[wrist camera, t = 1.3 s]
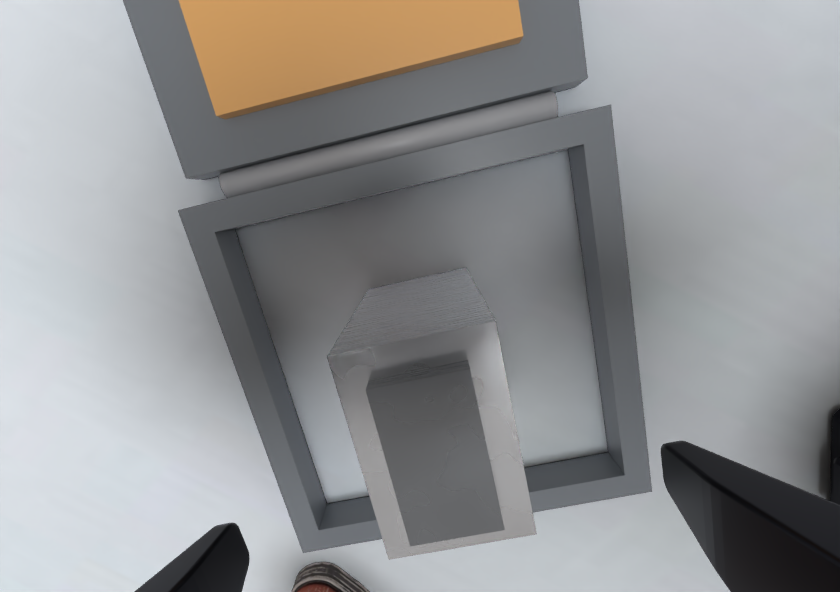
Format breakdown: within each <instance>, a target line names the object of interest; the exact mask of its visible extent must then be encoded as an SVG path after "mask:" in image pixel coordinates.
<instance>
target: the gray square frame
mask: <svg viewBox="0 0 840 592" xmlns="http://www.w3.org/2000/svg"><path fill="white" fill-rule="evenodd" d="M567 149H568V151H569V159H570V166H571V174H572V181H573V189H574V196H575V204H576V211H577V219H578V226H579V234H580V241H581V249H582V256H583V264H584V271H585V279H586V286H587V294H588V301H589V309H590V316H591V324H592V331H593V339H594V346H595V354H596V361H597V369H598V376H599V384H600V392H601V399H602V407H603V414H604V422H605V429H606V437H607V444H608V453H603V454H597V455H592V456H586V457H581V458H575V459H570V460H565V461H559V462H554V463H548V464H543V465H537V466H532V467H527V468H524V471H525V476H526V481H527V486H528V491H529V497H530V502H531V507H532V512H538V511H544V510H550V509H555V508H561V507H567V506H572V505H578V504H584V503H589V502H595V501H601V500H606V499H612V498H618V497H624V496H629V495H635V494H641V493H646V492H652V487H651V477H650V468H649V458H648V449H647V440H646V430H645V421H644V411H643V402H642V393H641V383H640V374H639V364H638V355H637V346H636V336H635V327H634V317H633V308H632V299H631V289H630V280H629V270H628V261H627V252H626V242H625V233H624V223H623V214H622V205H621V195H620V186H619V176H618V167H617V158H616V148H615V139H614V129H613V120H612V111H611V105H607V106H603V107H599V108H595V109H591V110H587V111H582V112H578V113H574V114H570V115H566V116H562V117H558V118H554V119H550V120H546V121H542V122H537V123H533V124H529V125H525V126H521V127H517V128H513V129H509V130H505V131H501V132H497V133H492V134H488V135H484V136H480V137H476V138H472V139H468V140H464V141H460V142H456V143H452V144H447V145H443V146H439V147H435V148H431V149H427V150H423V151H419V152H415V153H411V154H407V155H402V156H398V157H394V158H390V159H386V160H382V161H378V162H374V163H370V164H366V165H362V166H357V167H353V168H349V169H345V170H341V171H337V172H333V173H329V174H325V175H321V176H317V177H312V178H308V179H304V180H300V181H296V182H292V183H288V184H284V185H280V186H276V187H272V188H267V189H263V190H259V191H255V192H251V193H247V194H243V195H239V196H235V197H231V198H227V199H222V200H218V201H214V202H210V203H206V204H202V205H198V206H194V207H190V208H186V209H182V210H178V212H179V215H180V218H181V220H182V223H183V226H184V229H185V231H186V234H187V237H188V240H189V242H190V245H191V248H192V250H193V253H194V256H195V259H196V261H197V264H198V267H199V270H200V272H201V275H202V278H203V281H204V283H205V286H206V289H207V291H208V294H209V297H210V300H211V302H212V305H213V308H214V311H215V313H216V316H217V319H218V322H219V324H220V327H221V330H222V333H223V335H224V338H225V341H226V343H227V346H228V349H229V352H230V354H231V357H232V360H233V363H234V365H235V368H236V371H237V374H238V376H239V379H240V382H241V384H242V387H243V390H244V393H245V395H246V398H247V401H248V404H249V406H250V409H251V412H252V415H253V417H254V420H255V423H256V425H257V428H258V431H259V434H260V436H261V439H262V442H263V445H264V447H265V450H266V453H267V456H268V458H269V461H270V464H271V467H272V469H273V472H274V475H275V477H276V480H277V483H278V486H279V488H280V491H281V494H282V497H283V499H284V502H285V505H286V508H287V510H288V513H289V516H290V518H291V521H292V524H293V527H294V529H295V532H296V535H297V538H298V540H299V543H300V546H301V549H302V551H303V553H305V552H311V551H316V550H322V549H328V548H333V547H339V546H345V545H350V544H356V543H362V542H367V541H373V540H379V539H382V535H381V532H380V529H379V525H378V522H377V519H376V516H375V512H374V509H373V506H372V503H371V499H370V496H369V497H363V498H358V499H353V500H347V501H342V502H336V503H331V504H327V503H326V500H325V497H324V494H323V491H322V488H321V485H320V482H319V479H318V476H317V473H316V470H315V467H314V464H313V461H312V458H311V455H310V452H309V449H308V446H307V443H306V440H305V437H304V434H303V431H302V428H301V425H300V423H299V420H298V417H297V414H296V411H295V408H294V405H293V402H292V399H291V396H290V393H289V390H288V387H287V384H286V381H285V378H284V375H283V372H282V369H281V366H280V363H279V360H278V357H277V354H276V351H275V348H274V345H273V342H272V339H271V336H270V333H269V330H268V327H267V324H266V321H265V318H264V315H263V312H262V309H261V307H260V304H259V301H258V298H257V295H256V292H255V289H254V286H253V283H252V280H251V277H250V274H249V271H248V268H247V265H246V262H245V259H244V256H243V253H242V250H241V247H240V244H239V241H238V238H237V235H236V232H235V228H240V227H244V226H248V225H252V224H256V223H261V222H265V221H269V220H273V219H277V218H282V217H286V216H290V215H294V214H298V213H303V212H307V211H311V210H315V209H319V208H323V207H328V206H332V205H336V204H340V203H344V202H349V201H353V200H357V199H361V198H365V197H370V196H374V195H378V194H382V193H386V192H391V191H395V190H399V189H403V188H407V187H412V186H416V185H420V184H424V183H428V182H433V181H437V180H441V179H445V178H449V177H454V176H458V175H462V174H466V173H470V172H474V171H479V170H483V169H487V168H491V167H495V166H500V165H504V164H508V163H512V162H516V161H521V160H525V159H529V158H533V157H537V156H542V155H546V154H550V153H554V152H558V151H563V150H567Z"/></svg>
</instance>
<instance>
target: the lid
mask: <svg viewBox="0 0 840 592" xmlns="http://www.w3.org/2000/svg"><path fill="white" fill-rule="evenodd" d="M123 2H124V5H125V8H126V11H127V13H128V16H129V19H130V22H131V25H132V28H133V30H134V33H135V36H136V39H137V42H138V44H139V47H140V50H141V53H142V56H143V59H144V61H145V64H146V67H147V70H148V73H149V75H150V78H151V81H152V84H153V87H154V90H155V92H156V95H157V98H158V101H159V104H160V107H161V109H162V112H163V115H164V118H165V121H166V123H167V126H168V129H169V132H170V135H171V138H172V140H173V143H174V146H175V149H176V152H177V155H178V157H179V160H180V163H181V166H182V169H183V171H184V174H185V177H186V178H188V179H202V180H205V179H209V178H213V177H217V176H219V183H220V186H221V189H222V191H223V193H224V194H225V196H226V197H227V198H231V197H235V196H239V195H243V194H247V193H251V192H255V191H259V190H263V189H267V188H272V187H276V186H280V185H284V184H288V183H292V182H296V181H300V180H304V179H308V178H312V177H317V176H321V175H325V174H329V173H333V172H337V171H341V170H345V169H349V168H353V167H357V166H362V165H366V164H370V163H374V162H378V161H382V160H386V159H390V158H394V157H398V156H402V155H407V154H411V153H415V152H419V151H423V150H427V149H431V148H435V147H439V146H443V145H447V144H452V143H456V142H460V141H464V140H468V139H472V138H476V137H480V136H484V135H488V134H492V133H497V132H501V131H505V130H509V129H513V128H517V127H521V126H525V125H529V124H533V123H537V122H542V121H546V120H550V119H554V118H557V115H558V104H557V99H556V95H555V92H559V91H563V90H567V89H571V88H575V87H576V86H577V85H579V84H580V83H581V82H583V81H584V80H586V79H587V78H588V75H587V67H586V58H585V50H584V41H583V33H582V24H581V16H580V7H579V0H123Z"/></svg>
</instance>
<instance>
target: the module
mask: <svg viewBox="0 0 840 592" xmlns="http://www.w3.org/2000/svg"><path fill="white" fill-rule="evenodd" d="M327 358H328V361H329V365H330V368H331V371H332V374H333V378H334V381H335V384H336V388H337V391H338V394H339V397H340V401H341V404H342V407H343V411H344V414H345V417H346V420H347V424H348V427H349V430H350V434H351V437H352V440H353V443H354V447H355V450H356V453H357V457H358V460H359V463H360V466H361V470H362V473H363V476H364V480H365V483H366V486H367V489H368V493H369V496H370V499H371V503H372V506H373V509H374V512H375V516H376V519H377V522H378V525H379V529H380V532H381V535H382V539H383V542H384V545H385V548H386V552H387V555H388V558H389V560H390V559H395V558H401V557H407V556H413V555H419V554H424V553H430V552H436V551H442V550H448V549H453V548H459V547H465V546H471V545H477V544H482V543H488V542H494V541H500V540H506V539H511V538H517V537H523V536H529V535H535V534H537V533H536V528H535V522H534V517H533V512H532V507H531V502H530V497H529V491H528V486H527V481H526V476H525V471H524V465H523V460H522V455H521V450H520V445H519V439H518V434H517V429H516V424H515V419H514V413H513V408H512V403H511V398H510V393H509V387H508V382H507V377H506V372H505V367H504V362H503V356H502V351H501V346H500V341H499V336H498V330H497V325H496V321H495V319H494V317H493V315H492V313H491V311H490V310H489V308H488V306H487V304H486V302H485V301H484V299H483V297H482V295H481V293H480V292H479V290H478V288H477V286H476V284H475V282H474V281H473V279H472V277H471V275H470V273H469V272H468V270H467V268H462V269H457V270H453V271H448V272H444V273H439V274H435V275H430V276H426V277H421V278H417V279H412V280H408V281H403V282H399V283H394V284H390V285H385V286H381V287H376V288H372V289H369V290H368V291H367V293H366V294H365V296H364V298H363V299H362V301H361V303H360V304H359V306H358V307H357V309H356V311H355V312H354V314H353V315H352V317H351V319H350V320H349V322H348V323H347V325H346V327H345V328H344V330H343V332H342V333H341V335H340V336H339V338H338V340H337V341H336V343H335V344H334V346H333V348H332V349H331V351H330V352H329V354H328V356H327Z"/></svg>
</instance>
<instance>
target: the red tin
mask: <svg viewBox="0 0 840 592" xmlns="http://www.w3.org/2000/svg"><path fill="white" fill-rule="evenodd" d="M292 592H369V591H368V590H367V589H366V588H365V587H364V586H363V585H362V584H360V583H359V582H358V581H356V580H355V579H354V578H353V577H351V576H350V575H349V574H347V573H346V572H345V571H343V570H342V569H341V568H340V567H338V566H336V565H334V564H332V563H326V562H318V563H313V564H310V565H308V566H306V567H305V568H303V569H302V570H301V571H300V572H299V574H298V576H297V577H296V580H295V583H294V586H293V589H292Z"/></svg>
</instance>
